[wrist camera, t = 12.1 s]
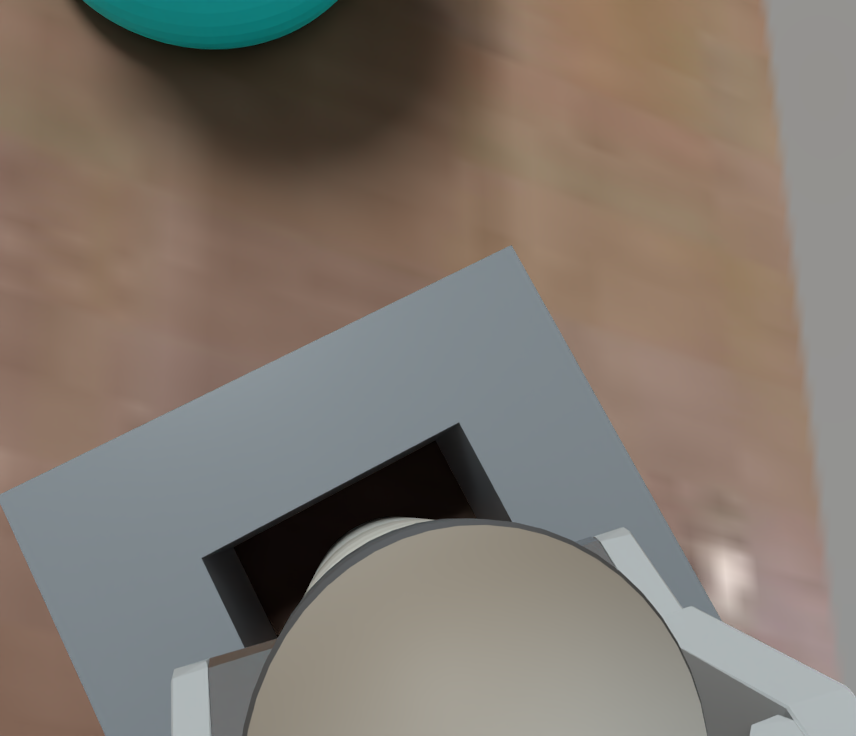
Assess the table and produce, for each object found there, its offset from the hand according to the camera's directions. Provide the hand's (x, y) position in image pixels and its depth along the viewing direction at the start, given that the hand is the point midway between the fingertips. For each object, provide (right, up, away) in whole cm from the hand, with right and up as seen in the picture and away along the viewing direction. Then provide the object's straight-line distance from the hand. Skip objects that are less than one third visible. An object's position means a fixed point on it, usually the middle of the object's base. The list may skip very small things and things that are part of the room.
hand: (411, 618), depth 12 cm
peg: (-1, -2, +7) cm, 7 cm away
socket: (-1, -2, +9) cm, 9 cm away
